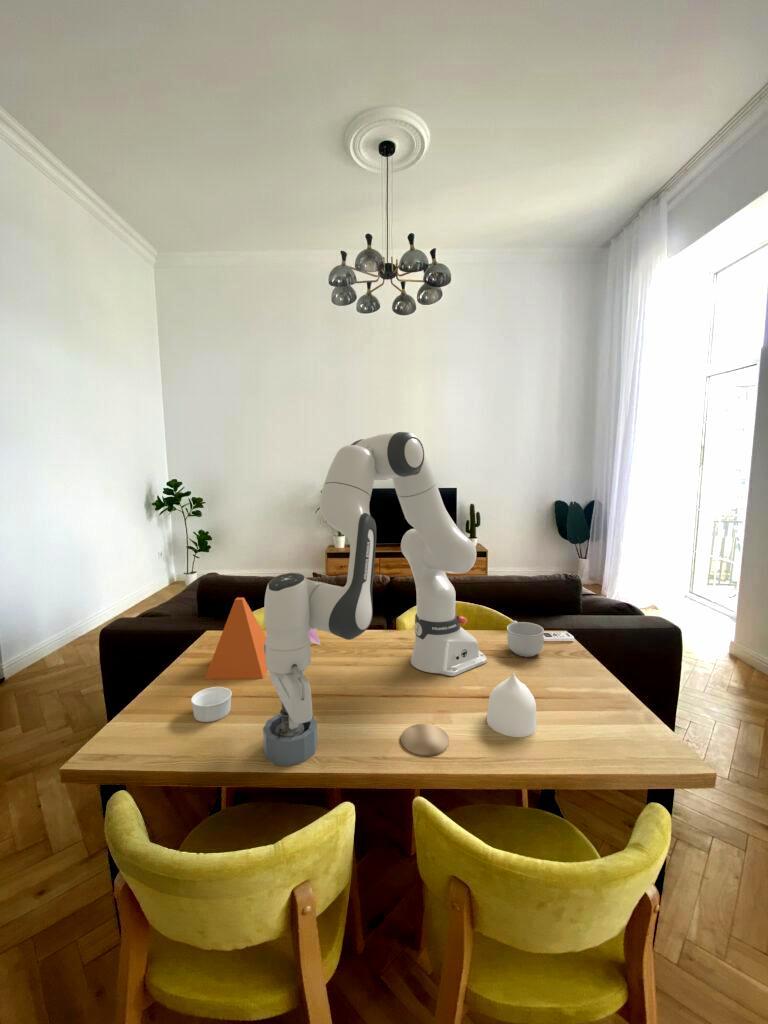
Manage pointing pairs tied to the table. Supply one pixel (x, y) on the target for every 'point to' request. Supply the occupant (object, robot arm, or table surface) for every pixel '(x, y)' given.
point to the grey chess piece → (284, 729)
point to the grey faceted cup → (289, 743)
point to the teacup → (525, 638)
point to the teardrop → (512, 709)
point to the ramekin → (211, 704)
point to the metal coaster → (425, 739)
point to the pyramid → (239, 647)
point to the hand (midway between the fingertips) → (290, 720)
